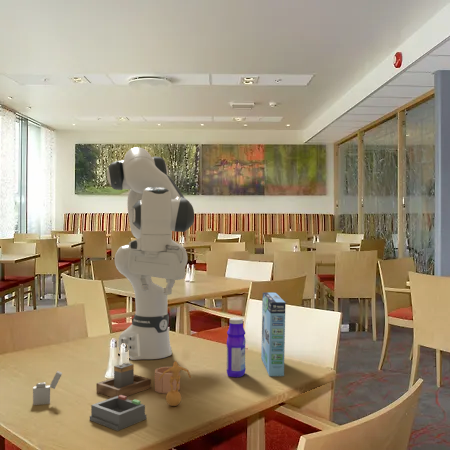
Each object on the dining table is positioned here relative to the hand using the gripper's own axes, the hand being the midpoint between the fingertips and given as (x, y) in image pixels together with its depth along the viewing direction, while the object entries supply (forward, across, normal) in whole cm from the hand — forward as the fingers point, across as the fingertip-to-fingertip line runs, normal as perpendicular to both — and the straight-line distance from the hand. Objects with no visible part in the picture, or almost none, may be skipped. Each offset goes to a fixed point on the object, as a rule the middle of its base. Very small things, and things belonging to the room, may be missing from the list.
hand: (155, 292), depth 150 cm
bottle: (+27, -12, -23) cm, 37 cm away
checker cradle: (+26, -12, +23) cm, 37 cm away
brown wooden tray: (+27, +4, +9) cm, 28 cm away
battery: (+26, +4, +9) cm, 28 cm away
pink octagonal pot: (+27, -5, 0) cm, 27 cm away
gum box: (+27, -16, -36) cm, 48 cm away
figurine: (+27, -16, +9) cm, 33 cm away
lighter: (+27, +11, +28) cm, 40 cm away
